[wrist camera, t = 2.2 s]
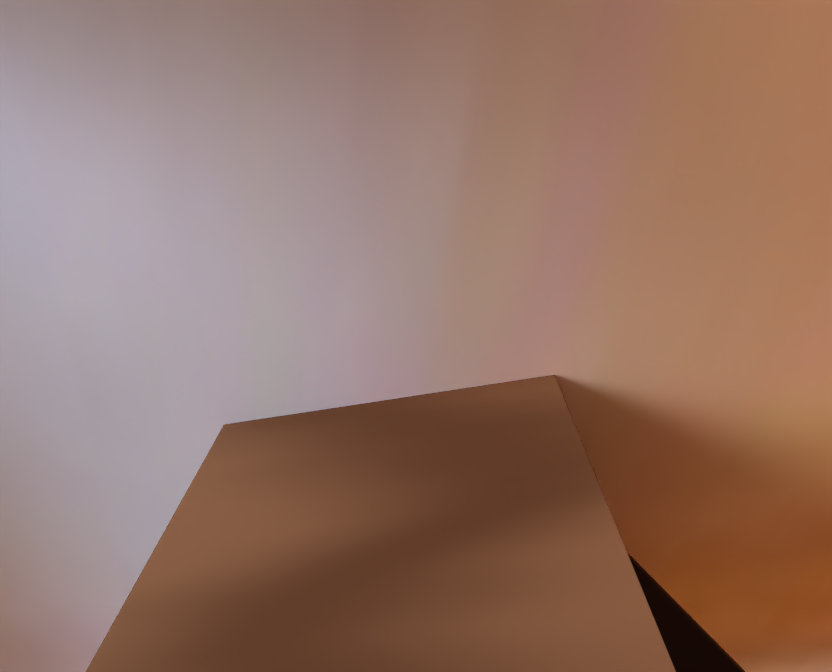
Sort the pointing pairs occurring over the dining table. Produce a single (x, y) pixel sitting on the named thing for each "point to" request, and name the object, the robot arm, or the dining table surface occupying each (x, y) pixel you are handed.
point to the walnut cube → (393, 548)
